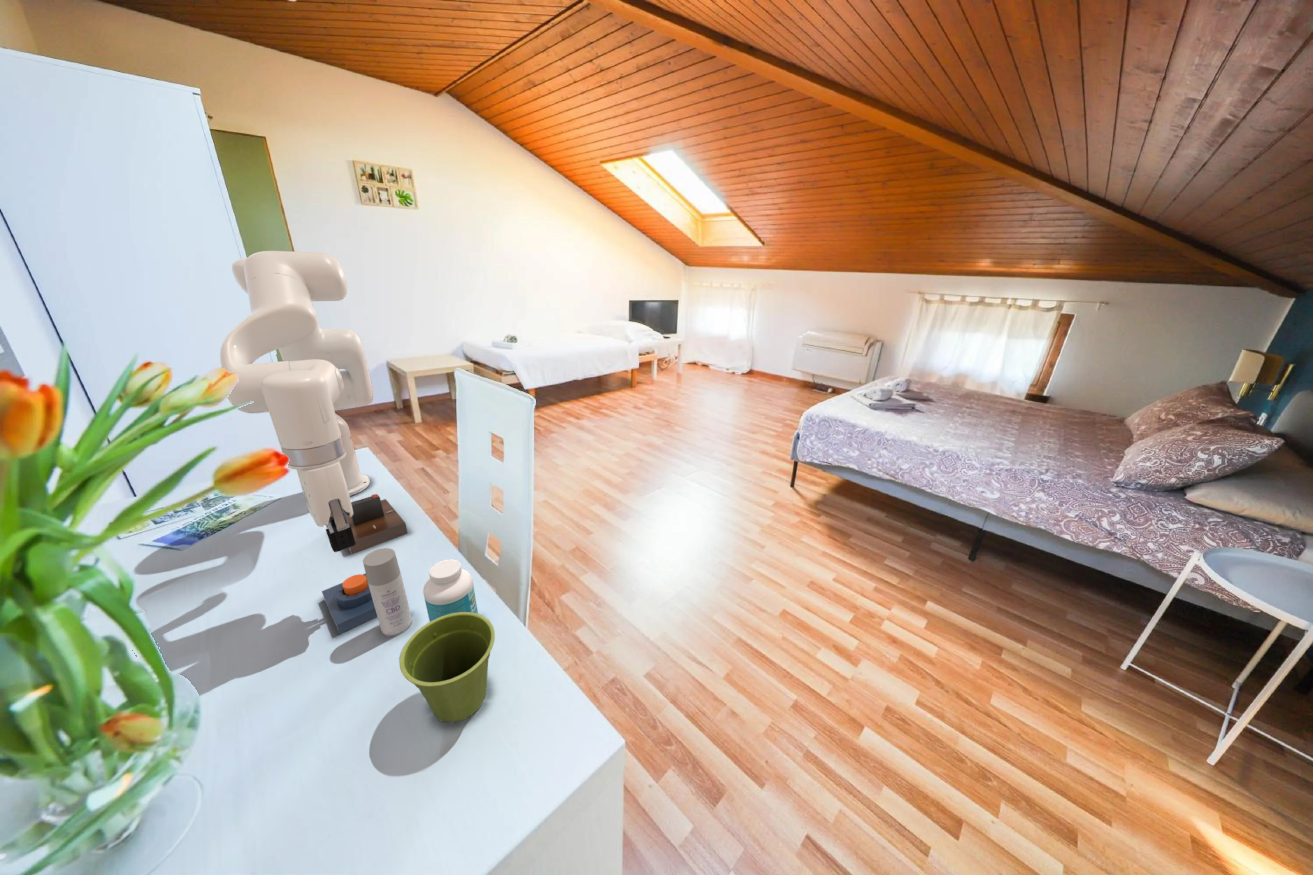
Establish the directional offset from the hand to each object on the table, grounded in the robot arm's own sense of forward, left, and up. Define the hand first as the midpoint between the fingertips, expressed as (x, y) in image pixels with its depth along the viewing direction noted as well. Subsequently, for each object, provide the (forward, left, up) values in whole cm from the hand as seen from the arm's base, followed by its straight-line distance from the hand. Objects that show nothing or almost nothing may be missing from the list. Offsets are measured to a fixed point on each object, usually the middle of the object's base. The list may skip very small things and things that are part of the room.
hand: (343, 546), depth 74 cm
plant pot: (+31, +5, -13) cm, 34 cm away
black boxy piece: (-24, +8, -10) cm, 27 cm away
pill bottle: (+18, +10, -13) cm, 24 cm away
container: (+10, +3, -13) cm, 17 cm away
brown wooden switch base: (-24, +8, -13) cm, 29 cm away
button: (0, 0, -9) cm, 9 cm away
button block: (0, 0, -13) cm, 13 cm away
